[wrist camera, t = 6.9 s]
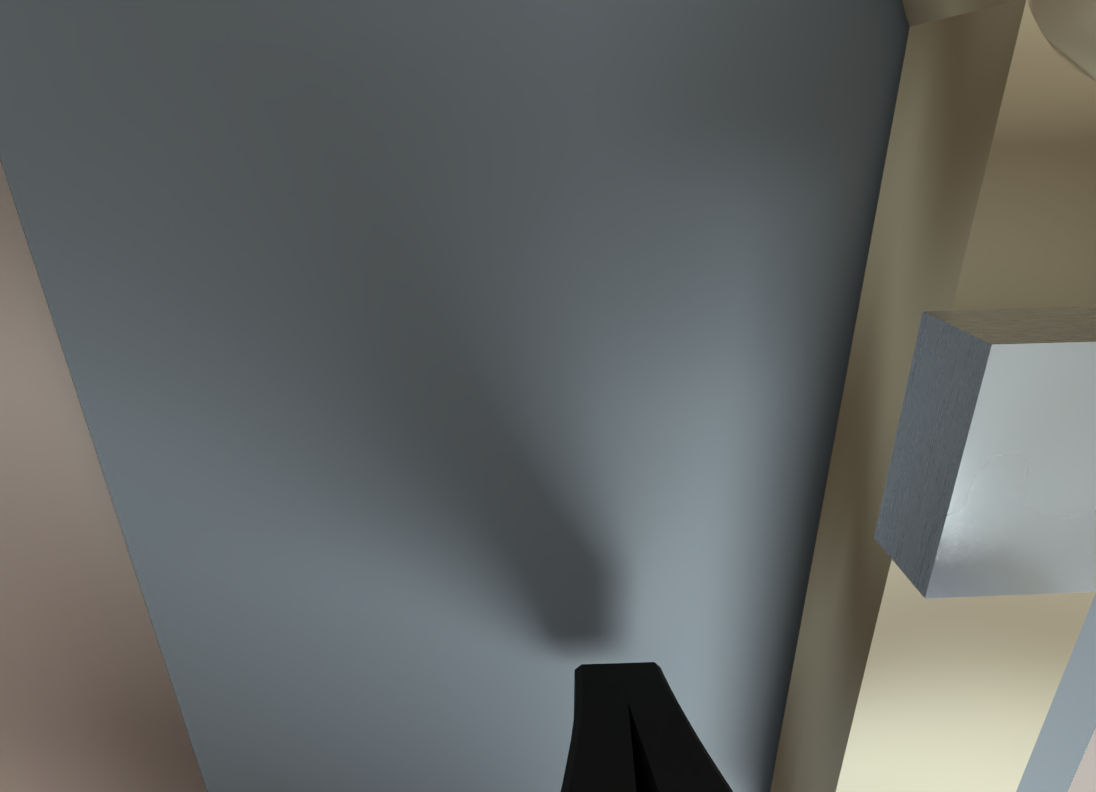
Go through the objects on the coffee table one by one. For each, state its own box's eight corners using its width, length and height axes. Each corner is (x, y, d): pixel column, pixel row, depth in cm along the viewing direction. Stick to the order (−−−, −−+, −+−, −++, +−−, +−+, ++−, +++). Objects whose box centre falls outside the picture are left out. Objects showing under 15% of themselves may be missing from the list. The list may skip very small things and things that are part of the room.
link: (936, -276, 7) (1187, -515, 4) (1267, -274, 7) (1705, -505, 4) (748, 833, 14) (800, 997, 11) (914, 825, 14) (1003, 986, 11)
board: (1015, 796, 15) (1046, 839, 15) (253, 831, 15) (235, 878, 14) (1512, -476, 7) (1656, -562, 6) (-139, -485, 7) (-241, -581, 6)
